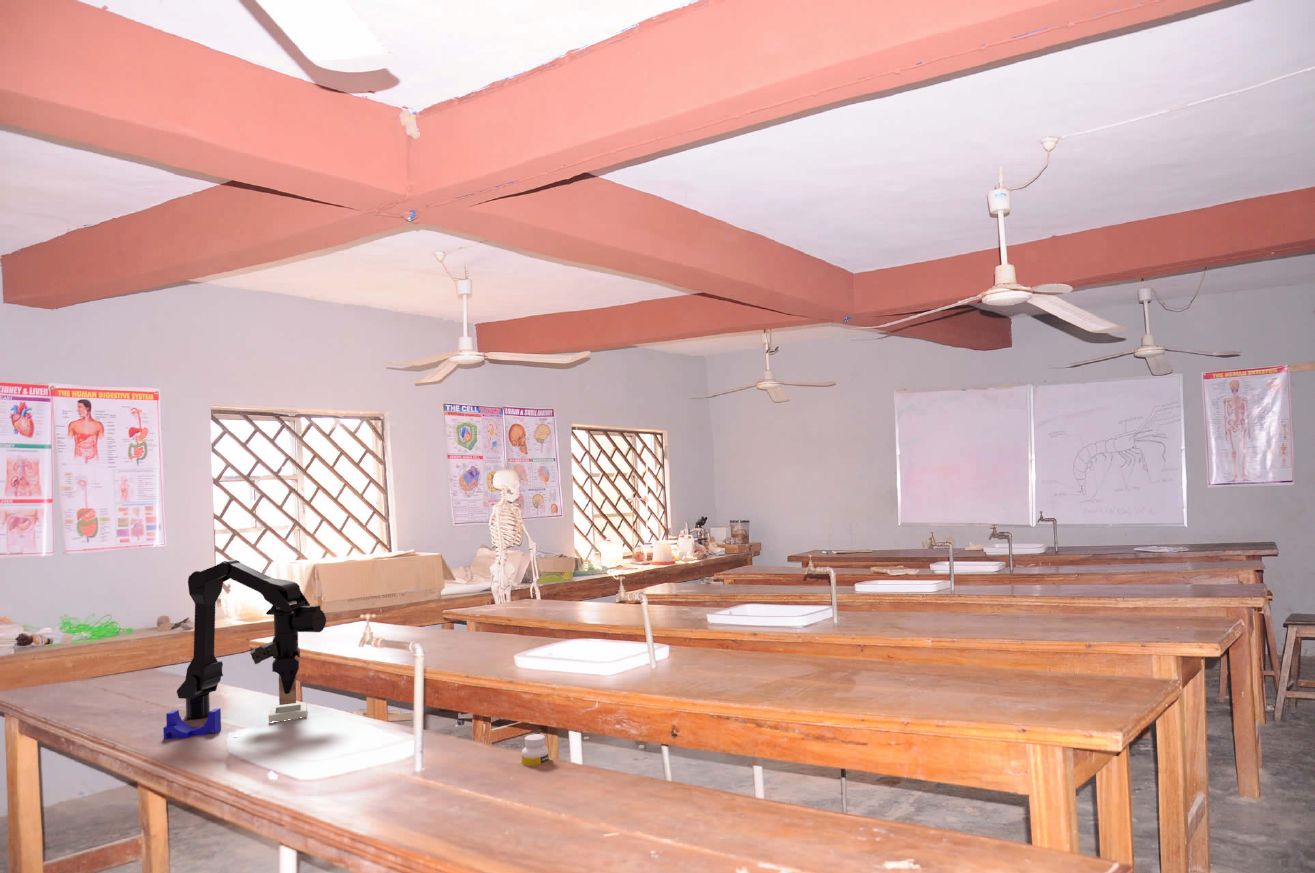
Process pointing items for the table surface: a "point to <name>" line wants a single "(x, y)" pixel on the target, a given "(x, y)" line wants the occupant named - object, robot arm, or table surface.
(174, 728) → the cable clip
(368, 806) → the table surface
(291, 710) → the frame
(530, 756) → the supplement bottle
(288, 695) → the walnut peg block
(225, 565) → the robot arm
